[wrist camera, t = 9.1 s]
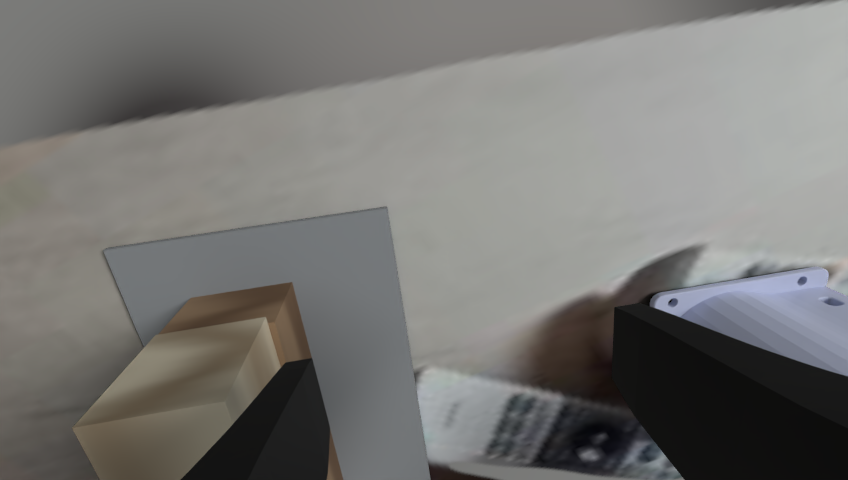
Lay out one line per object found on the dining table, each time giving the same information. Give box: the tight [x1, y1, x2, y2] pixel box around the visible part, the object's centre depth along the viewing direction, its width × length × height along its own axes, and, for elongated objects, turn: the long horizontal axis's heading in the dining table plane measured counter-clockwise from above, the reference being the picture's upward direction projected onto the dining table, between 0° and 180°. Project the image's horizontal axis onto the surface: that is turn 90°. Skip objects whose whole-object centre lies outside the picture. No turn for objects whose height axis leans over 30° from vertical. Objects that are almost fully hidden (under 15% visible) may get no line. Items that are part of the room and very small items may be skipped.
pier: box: [158, 282, 312, 367], centre depth 18 cm, size 4×4×4 cm
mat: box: [103, 207, 431, 480], centre depth 21 cm, size 12×18×1 cm, turn 7°
